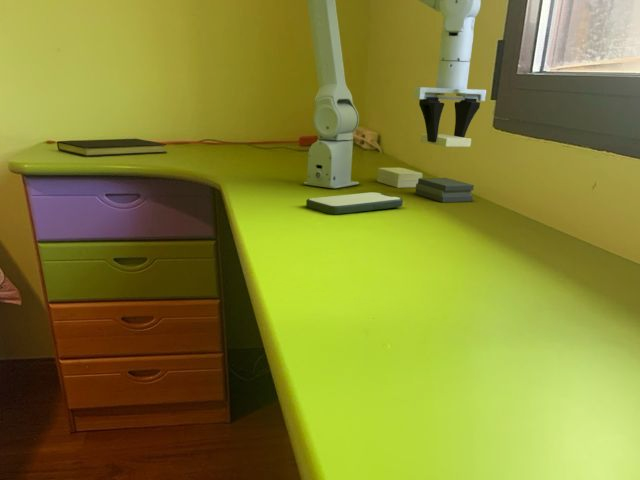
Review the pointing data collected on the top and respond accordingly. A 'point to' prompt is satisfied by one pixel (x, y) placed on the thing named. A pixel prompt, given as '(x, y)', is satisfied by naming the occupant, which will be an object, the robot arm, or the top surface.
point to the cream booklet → (448, 140)
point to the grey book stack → (444, 189)
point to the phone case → (354, 203)
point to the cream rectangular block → (398, 177)
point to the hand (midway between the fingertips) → (444, 141)
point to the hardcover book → (111, 147)
